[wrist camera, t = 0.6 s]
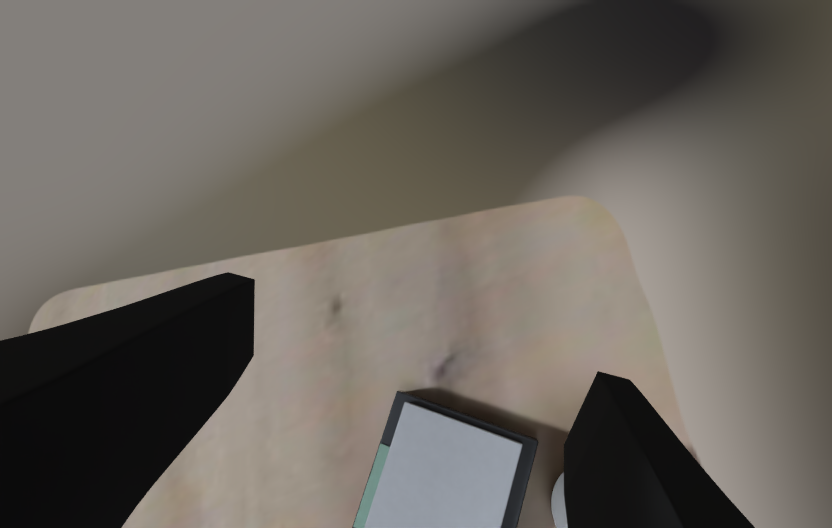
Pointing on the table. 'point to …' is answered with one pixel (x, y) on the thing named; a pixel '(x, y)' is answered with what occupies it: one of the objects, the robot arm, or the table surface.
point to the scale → (445, 470)
